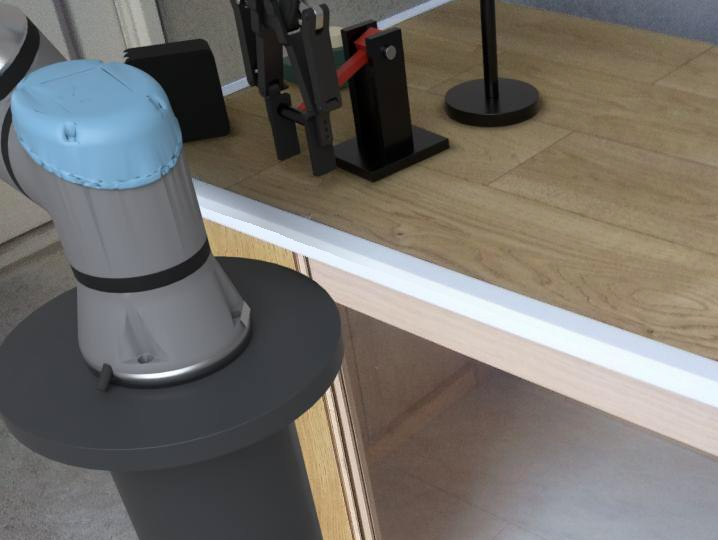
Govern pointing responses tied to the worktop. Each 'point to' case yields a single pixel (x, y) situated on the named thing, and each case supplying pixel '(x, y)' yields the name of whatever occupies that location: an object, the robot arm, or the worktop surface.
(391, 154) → the stand
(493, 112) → the desk lamp
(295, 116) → the switch lever
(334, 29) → the timer button
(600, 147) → the worktop surface
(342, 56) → the timer box
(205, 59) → the electronic device
